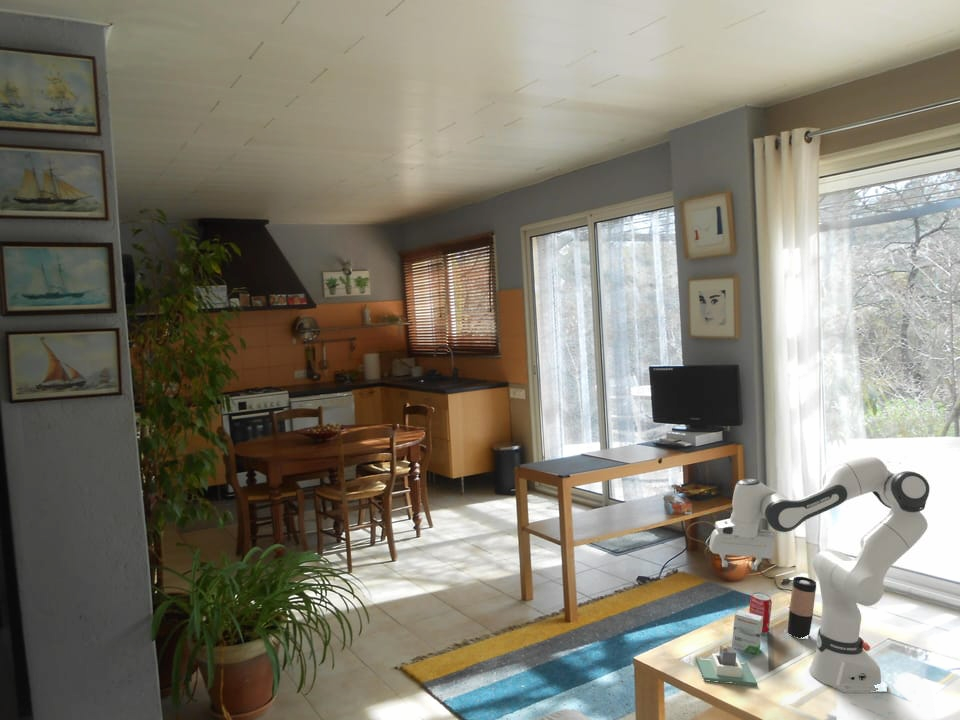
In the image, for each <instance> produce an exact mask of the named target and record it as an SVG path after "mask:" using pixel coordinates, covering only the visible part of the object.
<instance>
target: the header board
mask: <svg viewBox="0 0 960 720" xmlns="http://www.w3.org/2000/svg"><path fill="white" fill-rule="evenodd" d="M695 663H696V665H697V667H698V669H699V672H701V673H700V675H701V674H702V675H701V678H702V677H703V678H702V680H703V679H704V680H710V681H718V682H732V683H736V684H735V685H737V684H740V686H747V687H749V686H750V687H757V686H758V682H757V680H756V677H755V676H754V674H753V672H752V670H751V669H750V666H749V664H748V662H746V661H739V659H738V657H737V656H736V663H735V666H729V665H720V664H719V653H711V658H707V657H698V656H697V657H696V658H695ZM704 680H703V681H704ZM718 682H717V683H718Z"/></svg>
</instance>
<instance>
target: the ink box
mask: <svg viewBox="0 0 960 720" xmlns="http://www.w3.org/2000/svg"><path fill="white" fill-rule="evenodd" d="M762 624H763V616H759V615H755V614H751V613H749V611H748V612H747V611H744V610H739V609H738V610H736V612H735V614H734V618H733V631H732V637H731V638H732V639H731V640H732V641H731V647H734V649H736V650H740V651H745V652H747V653H750V654H755V655H759V653H760V651H761V641H762V635H763V634H762Z"/></svg>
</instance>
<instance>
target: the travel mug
mask: <svg viewBox="0 0 960 720" xmlns="http://www.w3.org/2000/svg"><path fill="white" fill-rule="evenodd" d="M792 581H793V582H792V587H791V596H790V602H789V611H788V622H787V634H788V633H789V634H791V635H792V636H795V637H798V638H801V637H802V638H803V637H805V636H807V635H809V634H810V633H811V628H812V623H813V618H814V617H813V615H814V608H815V606H814V605H815V599H816V592H817V582H816V581H815V580H814V579H812V578H809V577H804V576H795V577H794V578H793V580H792ZM789 634H788V635H789ZM792 636H791V637H792ZM809 636H810V635H809Z"/></svg>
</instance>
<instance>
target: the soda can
mask: <svg viewBox="0 0 960 720" xmlns="http://www.w3.org/2000/svg"><path fill="white" fill-rule="evenodd" d="M751 595H752V596H751V597H750V602H749V610H748V613H751V614H755V615H759V616H763V624H762V634H761V635H766V634H767V633H769V631H770V624H771V613H772V604H773V602H772V601H773V600H772V597H771V595H769V594H768V593H764V592H758V591H757V592H753V593H752V594H751Z"/></svg>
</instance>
